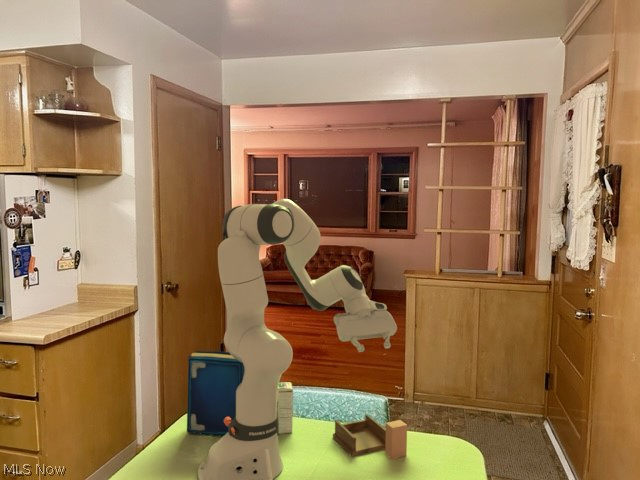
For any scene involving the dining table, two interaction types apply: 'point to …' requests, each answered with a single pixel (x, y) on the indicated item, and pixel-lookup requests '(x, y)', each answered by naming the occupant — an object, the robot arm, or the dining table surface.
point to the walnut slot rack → (360, 436)
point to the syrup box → (285, 406)
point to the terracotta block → (396, 439)
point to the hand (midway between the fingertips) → (375, 349)
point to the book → (212, 391)
